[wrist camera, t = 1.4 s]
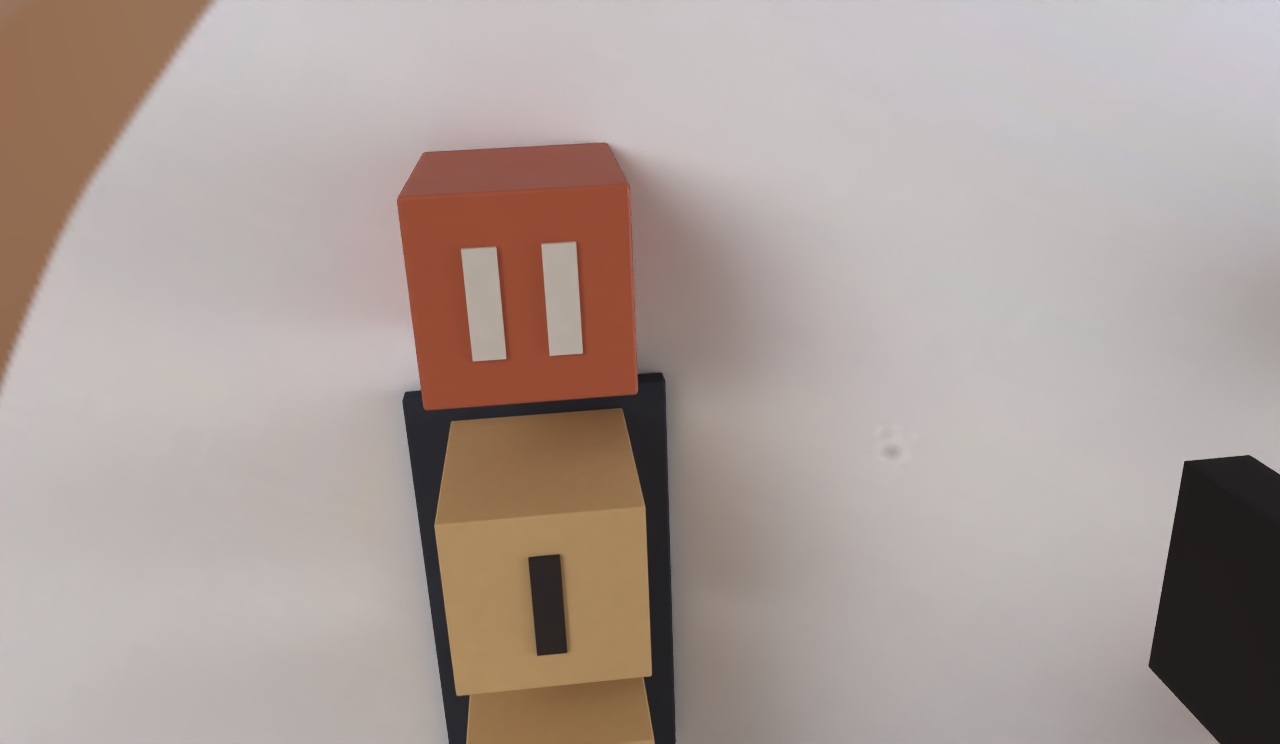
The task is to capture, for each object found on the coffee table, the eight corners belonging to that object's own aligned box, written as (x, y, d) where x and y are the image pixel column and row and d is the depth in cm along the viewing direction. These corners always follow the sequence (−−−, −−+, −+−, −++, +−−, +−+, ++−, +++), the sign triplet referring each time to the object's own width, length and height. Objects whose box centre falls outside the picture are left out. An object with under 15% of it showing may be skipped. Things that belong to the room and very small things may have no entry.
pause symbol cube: (422, 151, 24) (395, 198, 19) (608, 142, 25) (630, 184, 20) (442, 328, 26) (422, 414, 21) (616, 316, 27) (639, 397, 21)
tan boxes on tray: (404, 391, 27) (372, 503, 21) (662, 371, 27) (699, 476, 22) (453, 755, 31) (437, 929, 26) (673, 732, 32) (706, 896, 26)
